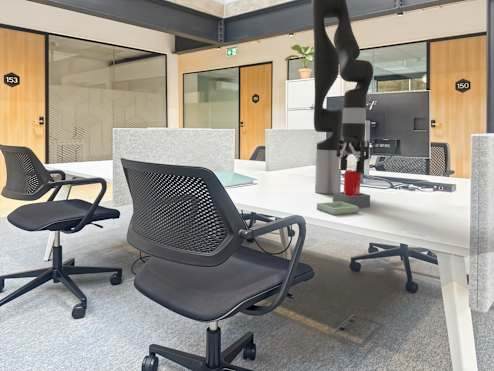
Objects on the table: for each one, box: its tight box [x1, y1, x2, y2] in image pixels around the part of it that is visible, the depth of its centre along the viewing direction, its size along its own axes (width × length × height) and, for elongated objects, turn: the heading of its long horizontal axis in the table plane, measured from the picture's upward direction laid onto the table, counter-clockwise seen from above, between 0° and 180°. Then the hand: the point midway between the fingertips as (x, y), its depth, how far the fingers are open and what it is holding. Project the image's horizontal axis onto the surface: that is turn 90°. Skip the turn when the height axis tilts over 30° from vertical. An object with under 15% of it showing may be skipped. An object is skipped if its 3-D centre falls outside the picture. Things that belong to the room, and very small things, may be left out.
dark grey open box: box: [332, 191, 371, 209], centre depth 139 cm, size 9×9×4 cm
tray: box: [316, 201, 360, 216], centre depth 130 cm, size 9×9×2 cm
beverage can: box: [343, 169, 362, 196], centre depth 138 cm, size 5×5×12 cm
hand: (351, 171), depth 137 cm, fingers open, 8 cm apart
